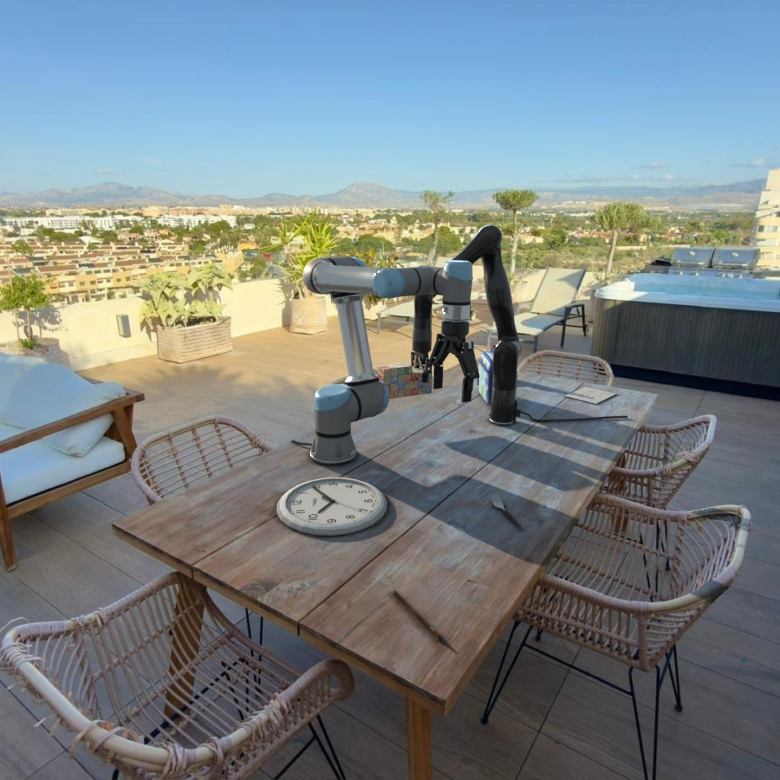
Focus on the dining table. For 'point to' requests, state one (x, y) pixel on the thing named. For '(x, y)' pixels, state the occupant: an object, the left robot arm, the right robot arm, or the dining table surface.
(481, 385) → the lunch box
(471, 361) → the left robot arm
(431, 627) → the dark brown stick
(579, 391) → the invitation card
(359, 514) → the wall clock
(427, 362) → the right robot arm
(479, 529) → the dining table surface
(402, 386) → the stack of blocks
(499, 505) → the fork
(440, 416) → the dining table surface
